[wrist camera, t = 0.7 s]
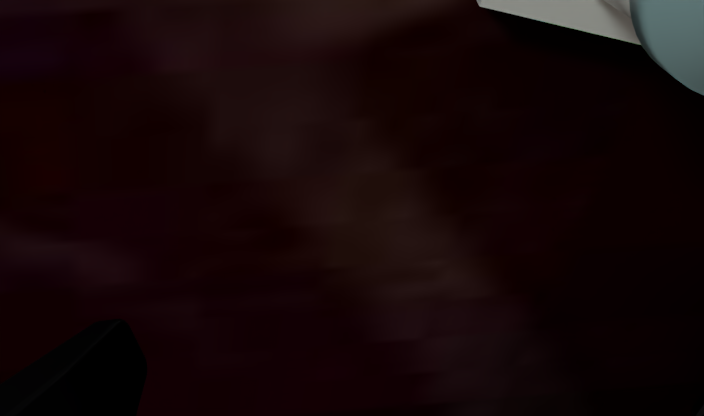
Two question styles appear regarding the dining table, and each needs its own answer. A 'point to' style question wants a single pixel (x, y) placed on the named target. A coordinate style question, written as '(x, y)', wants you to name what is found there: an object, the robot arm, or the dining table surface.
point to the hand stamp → (631, 27)
